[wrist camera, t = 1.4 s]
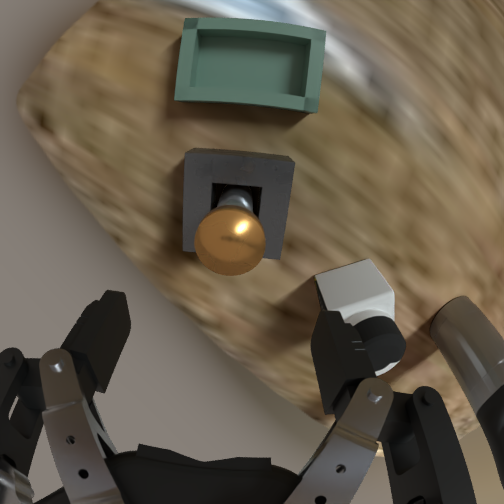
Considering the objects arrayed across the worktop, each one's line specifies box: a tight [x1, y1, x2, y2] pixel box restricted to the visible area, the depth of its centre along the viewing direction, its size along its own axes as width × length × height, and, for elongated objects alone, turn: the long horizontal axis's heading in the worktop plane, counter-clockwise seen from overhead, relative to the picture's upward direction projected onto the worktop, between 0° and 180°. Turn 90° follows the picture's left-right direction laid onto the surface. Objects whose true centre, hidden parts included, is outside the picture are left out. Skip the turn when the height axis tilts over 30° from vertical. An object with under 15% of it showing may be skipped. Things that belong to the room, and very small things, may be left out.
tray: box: [174, 18, 326, 114], centre depth 20 cm, size 12×8×3 cm, turn 84°
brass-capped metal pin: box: [194, 184, 266, 276], centre depth 22 cm, size 4×4×11 cm
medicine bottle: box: [314, 259, 406, 376], centre depth 27 cm, size 7×7×12 cm
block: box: [183, 148, 295, 260], centre depth 25 cm, size 9×9×4 cm
